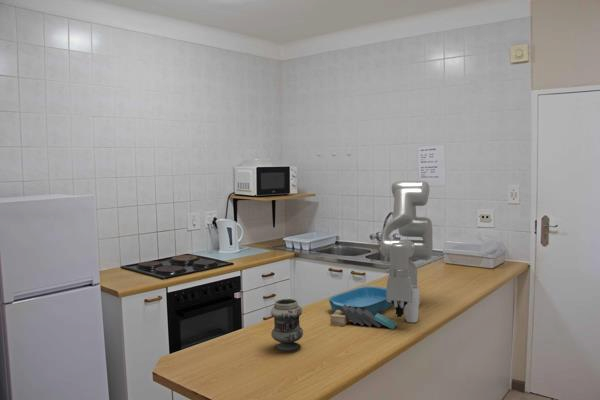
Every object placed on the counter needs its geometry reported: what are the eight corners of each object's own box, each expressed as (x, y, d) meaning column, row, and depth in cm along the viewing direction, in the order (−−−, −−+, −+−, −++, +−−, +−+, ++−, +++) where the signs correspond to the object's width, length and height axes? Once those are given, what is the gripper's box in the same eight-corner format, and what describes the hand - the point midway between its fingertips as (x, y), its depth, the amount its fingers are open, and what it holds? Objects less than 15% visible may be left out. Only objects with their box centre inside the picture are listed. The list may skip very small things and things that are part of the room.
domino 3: (369, 327, 207) (353, 313, 210) (372, 323, 212) (356, 309, 214) (371, 324, 207) (355, 310, 209) (374, 320, 211) (358, 307, 214)
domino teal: (393, 329, 204) (373, 319, 207) (395, 325, 208) (376, 316, 211) (394, 326, 203) (374, 316, 206) (396, 322, 208) (377, 312, 211)
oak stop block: (337, 318, 220) (337, 309, 220) (350, 319, 218) (350, 310, 218) (330, 325, 211) (330, 316, 211) (344, 326, 209) (343, 317, 209)
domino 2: (362, 326, 209) (346, 311, 211) (364, 322, 213) (349, 308, 215) (364, 323, 208) (348, 308, 210) (367, 320, 213) (351, 305, 215)
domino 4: (379, 328, 206) (361, 315, 208) (381, 324, 210) (364, 312, 213) (381, 325, 205) (363, 312, 208) (383, 321, 210) (365, 309, 212)
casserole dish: (358, 324, 212) (358, 308, 212) (319, 314, 228) (319, 299, 227) (405, 305, 239) (405, 291, 238) (367, 297, 254) (367, 283, 254)
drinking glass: (408, 324, 210) (408, 289, 209) (401, 319, 216) (400, 285, 215) (422, 322, 212) (422, 288, 211) (414, 317, 218) (414, 284, 217)
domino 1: (355, 324, 210) (339, 309, 212) (358, 321, 214) (342, 306, 216) (357, 322, 209) (341, 307, 211) (360, 318, 214) (345, 303, 216)
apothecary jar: (286, 340, 194) (284, 295, 193) (310, 346, 187) (309, 299, 186) (265, 349, 185) (263, 302, 184) (289, 356, 177) (288, 307, 176)
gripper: (379, 273, 203) (379, 317, 204) (416, 275, 197) (416, 320, 198) (383, 269, 210) (383, 312, 211) (419, 271, 204) (419, 315, 205)
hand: (399, 316), depth 205 cm, fingers closed
